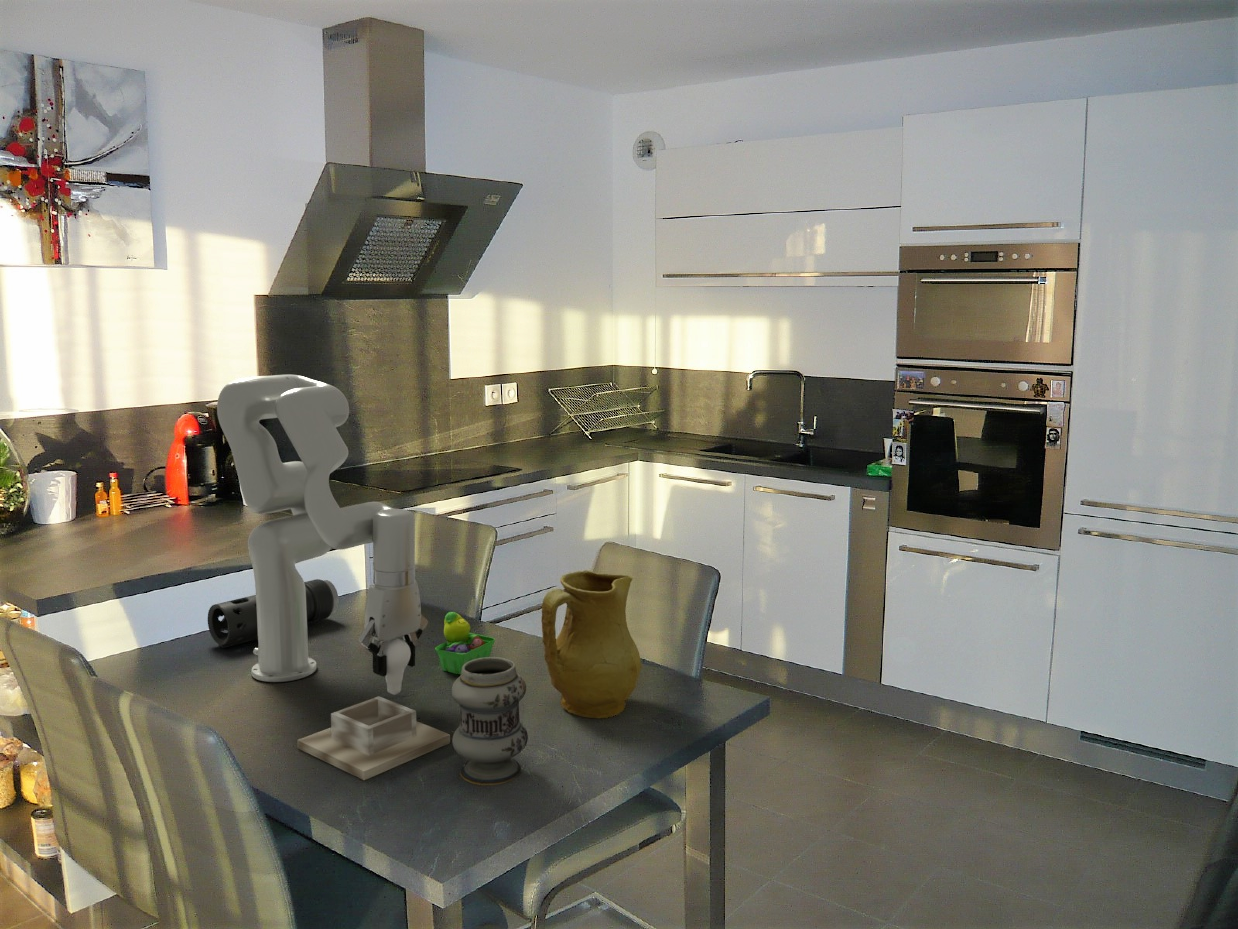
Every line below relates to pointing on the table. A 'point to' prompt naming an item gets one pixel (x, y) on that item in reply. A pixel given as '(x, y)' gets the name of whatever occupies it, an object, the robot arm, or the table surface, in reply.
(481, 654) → the fruit basket
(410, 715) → the socket
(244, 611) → the muzzle brake
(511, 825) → the table surface
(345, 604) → the table surface
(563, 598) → the pitcher
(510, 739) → the apothecary jar
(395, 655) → the lightbulb
